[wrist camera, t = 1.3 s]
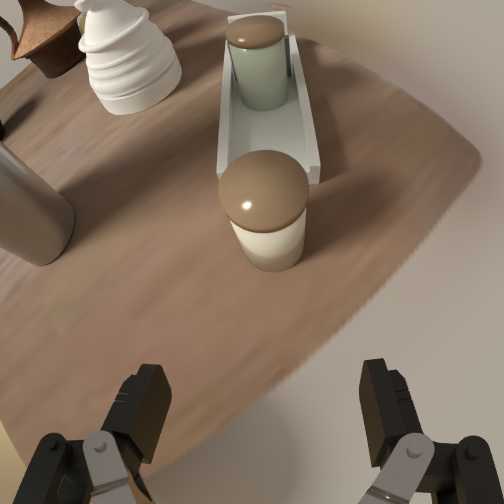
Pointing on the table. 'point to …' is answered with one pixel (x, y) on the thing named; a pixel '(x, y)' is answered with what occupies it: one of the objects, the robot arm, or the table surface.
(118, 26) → the honey pot
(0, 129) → the mug
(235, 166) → the cream jar
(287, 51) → the pusher
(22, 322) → the table surface
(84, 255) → the table surface
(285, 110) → the jar lane
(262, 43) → the sage jar
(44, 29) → the pitcher
